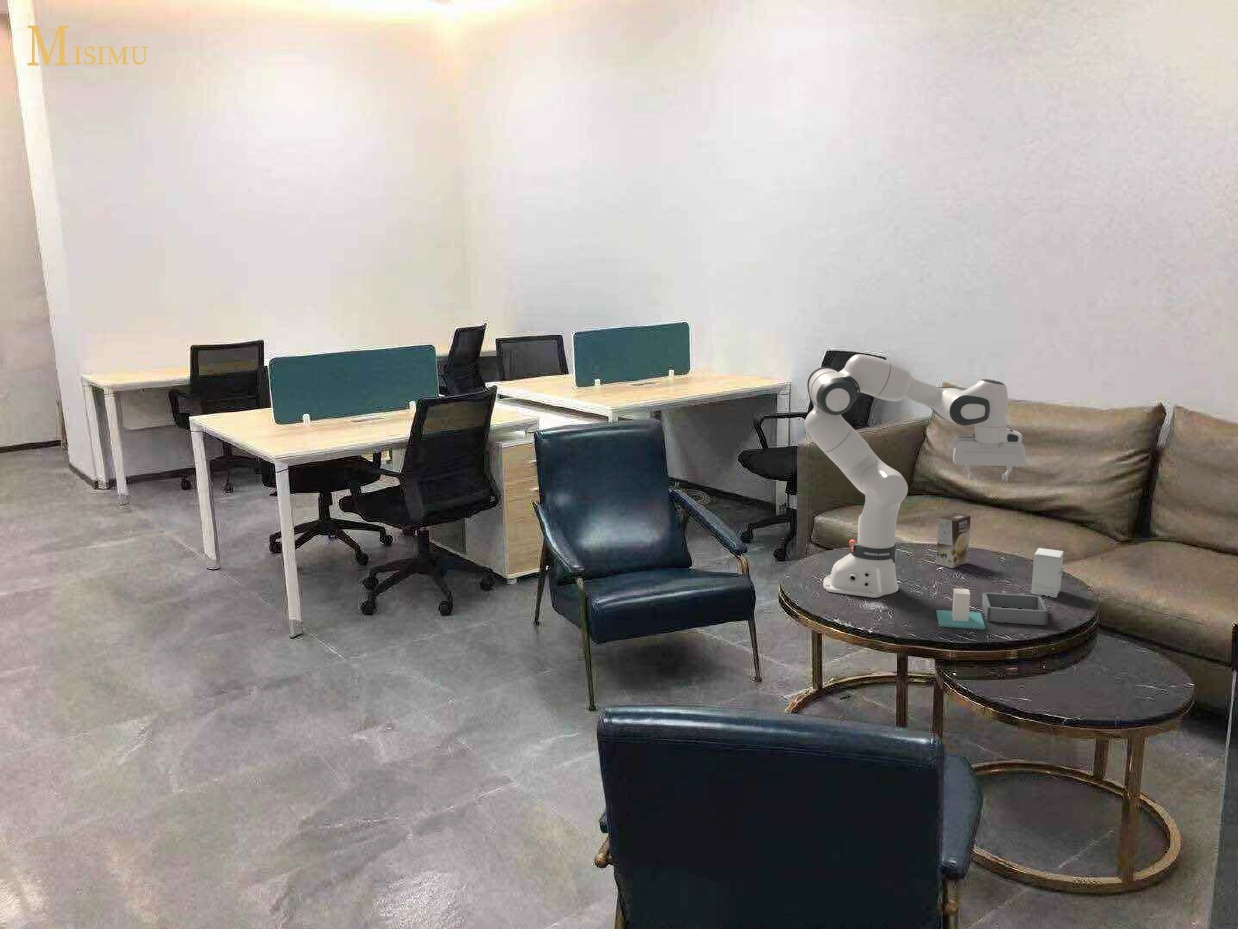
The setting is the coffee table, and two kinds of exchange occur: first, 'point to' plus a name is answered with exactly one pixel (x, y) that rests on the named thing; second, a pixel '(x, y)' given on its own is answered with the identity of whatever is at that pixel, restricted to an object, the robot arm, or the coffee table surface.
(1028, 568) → the coffee table surface
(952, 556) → the coffee box
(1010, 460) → the robot arm
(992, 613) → the crate
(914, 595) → the coffee table surface
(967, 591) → the block
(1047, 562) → the supplement box
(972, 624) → the mat
